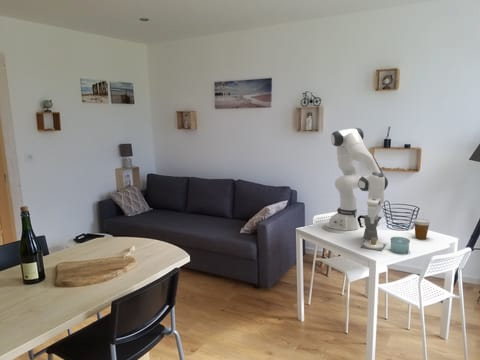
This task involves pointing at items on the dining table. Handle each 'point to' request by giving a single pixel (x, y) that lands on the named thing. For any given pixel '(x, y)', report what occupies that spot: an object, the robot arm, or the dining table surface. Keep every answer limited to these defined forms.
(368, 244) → the lid
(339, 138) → the robot arm
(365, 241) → the mat
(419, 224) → the disposable coffee cup
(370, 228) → the coffeepot
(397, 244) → the crock
